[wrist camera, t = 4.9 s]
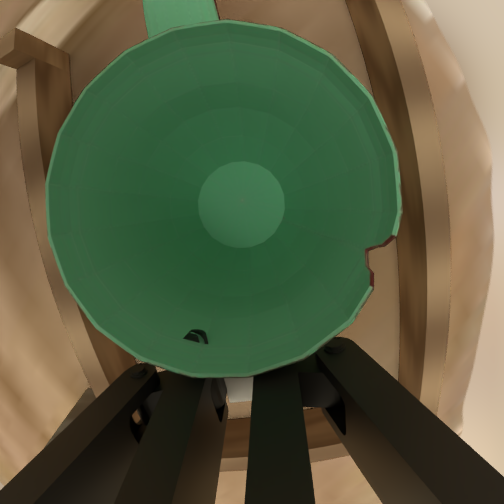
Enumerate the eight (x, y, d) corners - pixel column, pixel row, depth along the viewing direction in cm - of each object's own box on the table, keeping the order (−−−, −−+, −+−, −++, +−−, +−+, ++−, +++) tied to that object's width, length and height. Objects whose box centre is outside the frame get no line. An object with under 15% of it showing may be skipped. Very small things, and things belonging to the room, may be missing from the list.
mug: (347, 273, 18) (425, 336, 8) (178, 308, 18) (94, 393, 8) (286, 35, 16) (294, -85, 6) (132, 75, 17) (42, -6, 7)
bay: (10, 87, 16) (-94, 68, 6) (363, -10, 14) (422, -110, 4) (108, 433, 23) (62, 520, 13) (414, 398, 21) (468, 496, 11)
